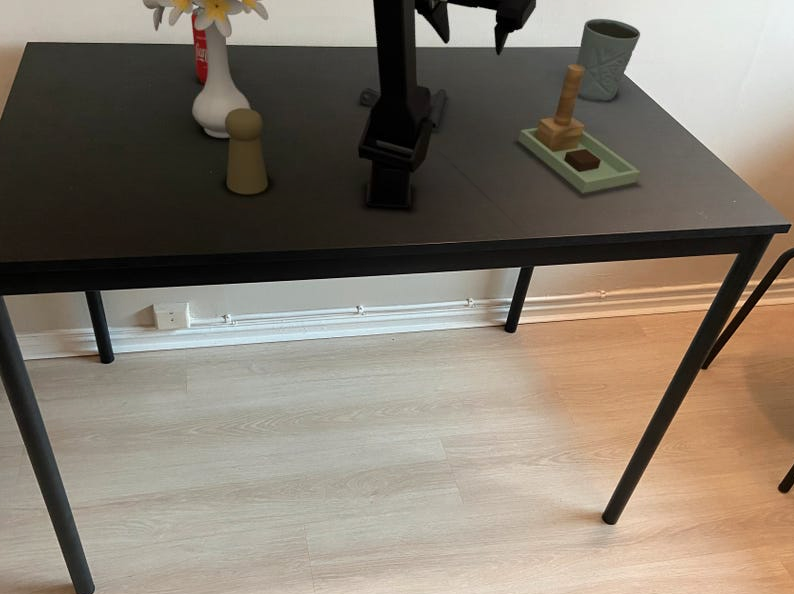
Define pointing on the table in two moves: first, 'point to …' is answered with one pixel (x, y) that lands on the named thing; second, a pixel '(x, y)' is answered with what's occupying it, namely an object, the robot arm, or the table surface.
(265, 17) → the flower vase
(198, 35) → the beverage can
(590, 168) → the dark brown block
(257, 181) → the brown pawn
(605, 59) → the grey-green cup
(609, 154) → the tray
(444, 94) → the bracket
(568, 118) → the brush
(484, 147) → the table surface
